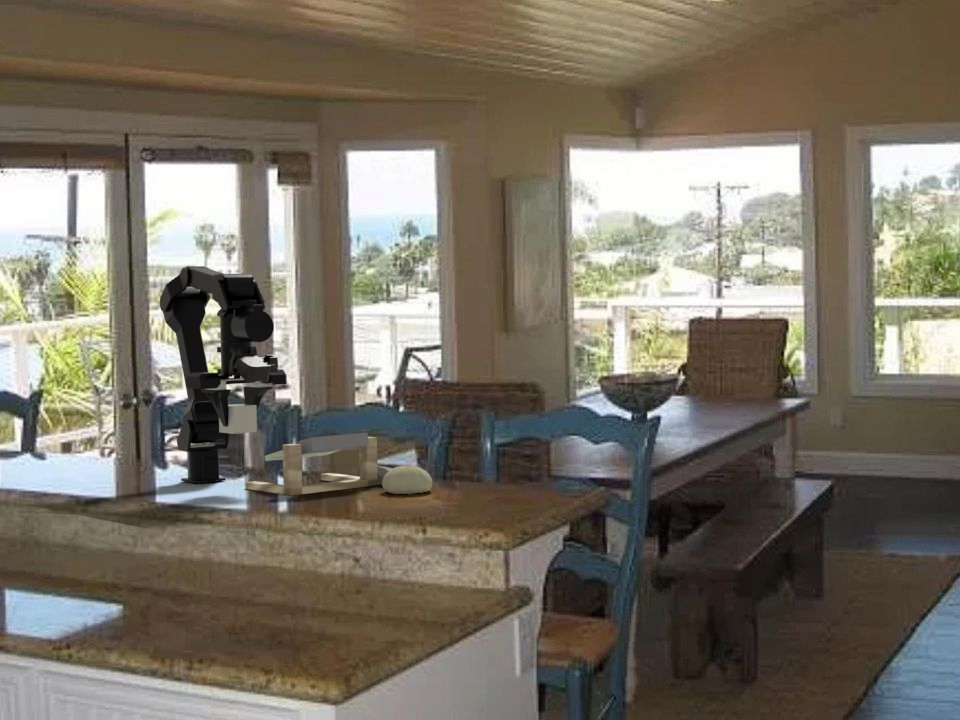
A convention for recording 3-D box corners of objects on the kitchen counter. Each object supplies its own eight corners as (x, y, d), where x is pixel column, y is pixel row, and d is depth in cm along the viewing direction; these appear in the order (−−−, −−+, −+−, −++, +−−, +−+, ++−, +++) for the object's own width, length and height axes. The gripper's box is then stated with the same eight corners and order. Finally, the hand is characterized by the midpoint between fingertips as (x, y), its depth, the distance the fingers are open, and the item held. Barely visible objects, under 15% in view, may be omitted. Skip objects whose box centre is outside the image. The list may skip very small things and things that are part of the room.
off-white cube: (219, 432, 288) (218, 405, 288) (242, 430, 292) (241, 403, 291) (233, 433, 285) (233, 406, 284) (256, 432, 288) (256, 405, 288)
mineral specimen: (391, 485, 301) (390, 463, 301) (426, 486, 291) (426, 463, 291) (362, 487, 297) (362, 464, 297) (398, 488, 287) (397, 464, 287)
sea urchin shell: (442, 479, 285) (430, 451, 280) (431, 513, 280) (419, 486, 275) (395, 477, 288) (383, 450, 283) (384, 512, 283) (372, 485, 278)
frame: (245, 488, 290) (244, 440, 290) (330, 478, 304) (329, 433, 303) (291, 495, 279) (290, 445, 279) (377, 485, 293) (376, 437, 292)
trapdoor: (265, 464, 290) (263, 452, 290) (326, 458, 300) (324, 446, 300) (310, 450, 279) (308, 437, 280) (371, 444, 289) (369, 432, 289)
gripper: (215, 343, 275) (217, 431, 276) (302, 340, 288) (304, 424, 288) (183, 342, 284) (185, 428, 284) (269, 339, 296) (270, 421, 297)
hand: (238, 425), depth 288 cm, fingers closed on off-white cube, 5 cm apart
